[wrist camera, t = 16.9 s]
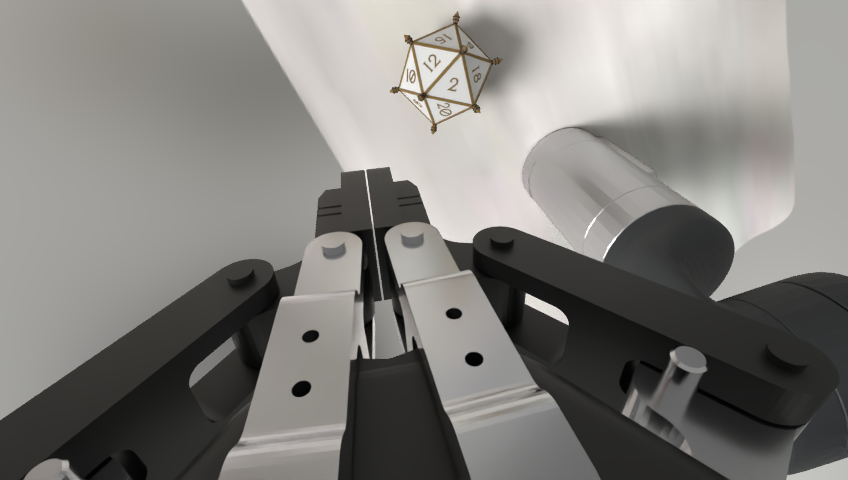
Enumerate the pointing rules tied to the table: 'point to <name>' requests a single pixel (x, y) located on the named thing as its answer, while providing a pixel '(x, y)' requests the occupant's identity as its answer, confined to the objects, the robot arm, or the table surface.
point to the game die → (444, 73)
